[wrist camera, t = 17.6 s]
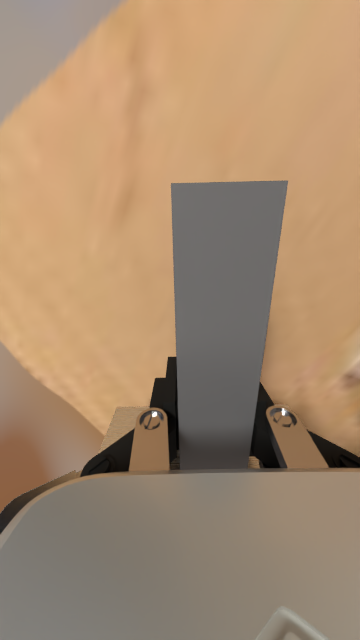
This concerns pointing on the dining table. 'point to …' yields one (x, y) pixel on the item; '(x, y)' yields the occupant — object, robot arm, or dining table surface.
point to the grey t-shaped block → (219, 317)
